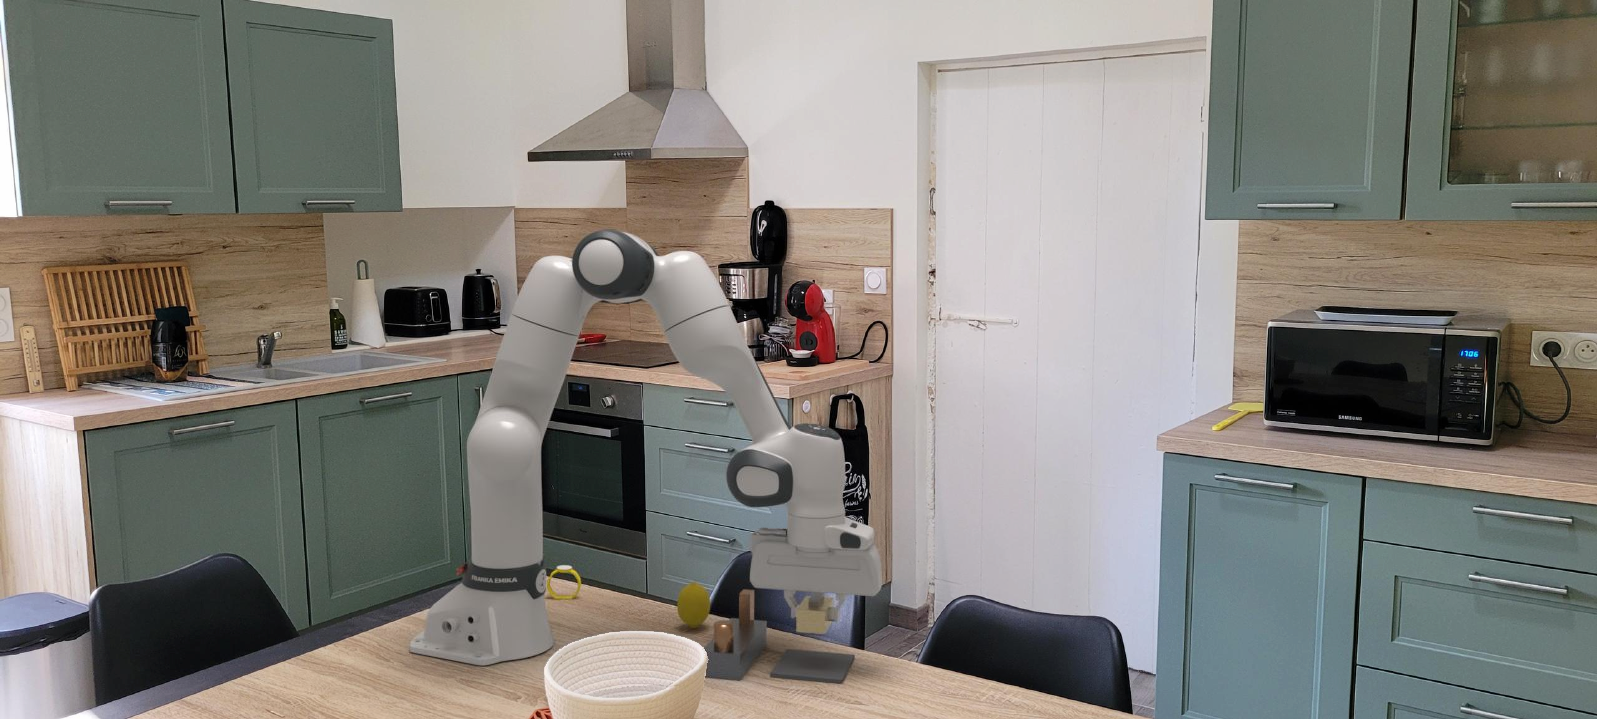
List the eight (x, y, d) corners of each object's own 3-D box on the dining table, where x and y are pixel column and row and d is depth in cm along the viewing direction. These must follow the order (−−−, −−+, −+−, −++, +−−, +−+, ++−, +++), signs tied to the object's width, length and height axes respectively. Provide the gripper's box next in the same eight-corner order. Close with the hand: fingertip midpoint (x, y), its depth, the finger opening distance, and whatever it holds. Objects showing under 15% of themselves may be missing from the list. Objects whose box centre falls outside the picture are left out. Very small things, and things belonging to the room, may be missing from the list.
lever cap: (796, 631, 175) (796, 602, 175) (806, 617, 182) (806, 589, 182) (824, 634, 174) (825, 604, 174) (833, 619, 181) (833, 591, 181)
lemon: (704, 634, 193) (705, 587, 192) (672, 632, 194) (673, 585, 194) (713, 624, 199) (714, 578, 198) (682, 621, 200) (682, 576, 199)
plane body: (701, 676, 174) (701, 618, 173) (730, 641, 190) (731, 588, 189) (740, 680, 173) (740, 621, 172) (766, 644, 189) (767, 590, 188)
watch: (580, 597, 214) (583, 566, 213) (578, 602, 211) (580, 570, 210) (548, 595, 214) (550, 563, 213) (545, 599, 211) (547, 567, 210)
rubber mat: (770, 676, 175) (770, 672, 175) (786, 652, 185) (786, 648, 185) (841, 683, 172) (842, 679, 172) (854, 658, 183) (854, 654, 183)
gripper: (744, 531, 176) (744, 620, 177) (878, 539, 172) (877, 630, 173) (755, 521, 182) (755, 607, 183) (884, 529, 178) (883, 617, 179)
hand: (815, 618), depth 178 cm, fingers closed on lever cap, 4 cm apart
